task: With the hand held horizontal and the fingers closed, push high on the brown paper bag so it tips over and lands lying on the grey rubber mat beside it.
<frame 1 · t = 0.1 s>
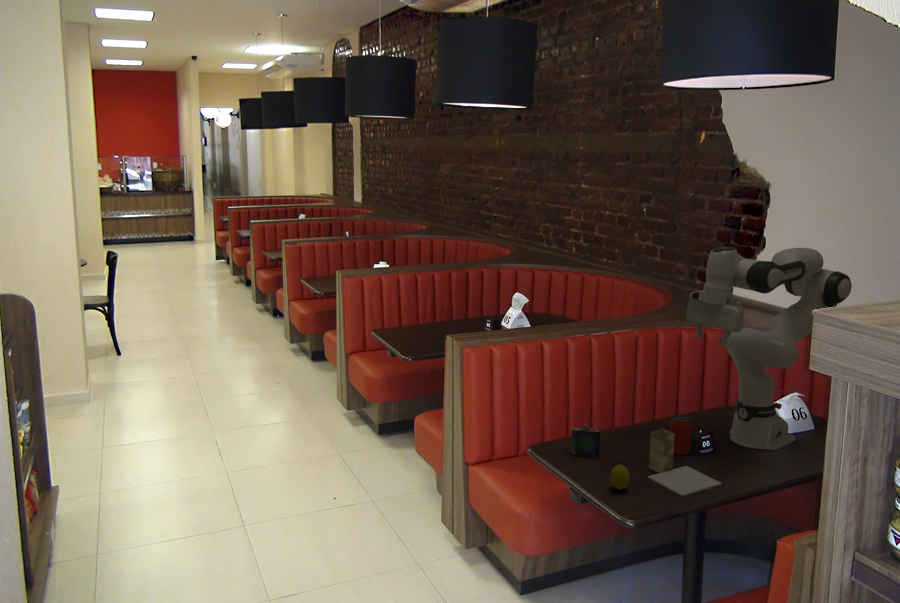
hand: (711, 340, 227), 39 cm above the table, tool pointing down, fingers open, 8 cm apart
beer can: (679, 452, 237), on the table
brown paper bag: (660, 469, 224), on the table
grey mat: (684, 481, 215), on the table
flask: (585, 455, 235), on the table
lemon: (619, 490, 210), on the table
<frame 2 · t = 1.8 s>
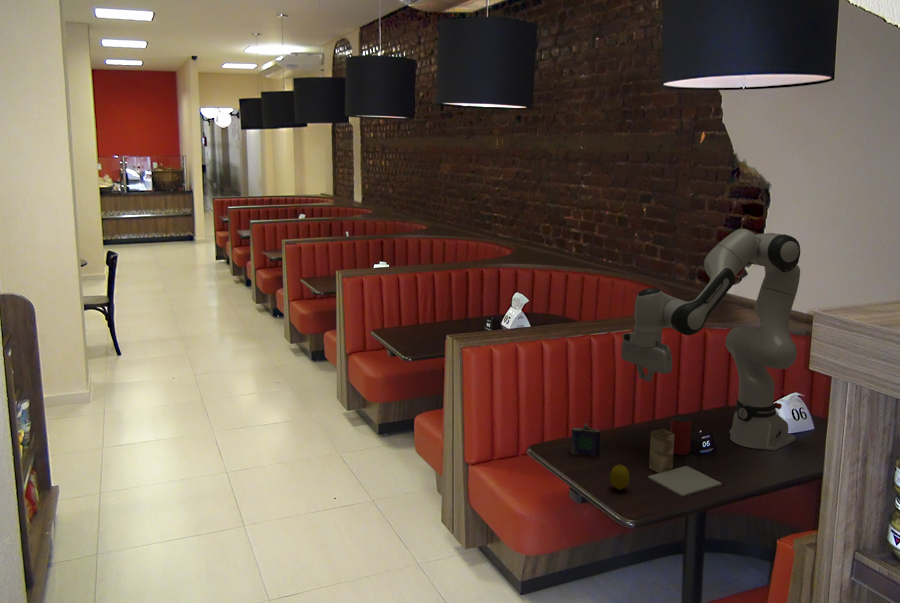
hand: (645, 379, 232), 25 cm above the table, tool pointing down, fingers closed
nothing on the table moved.
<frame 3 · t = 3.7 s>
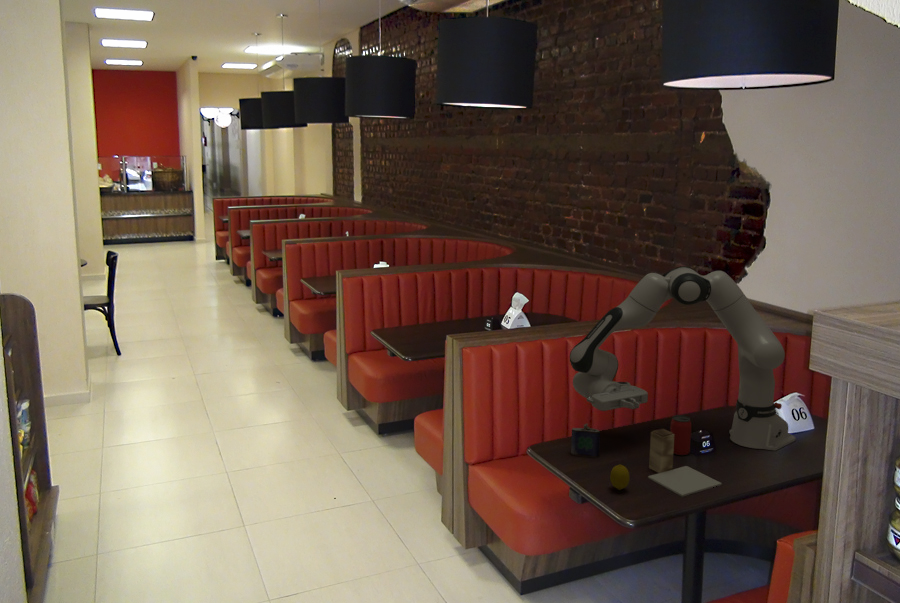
hand: (635, 406, 231), 17 cm above the table, tool horizontal, fingers closed
nothing on the table moved.
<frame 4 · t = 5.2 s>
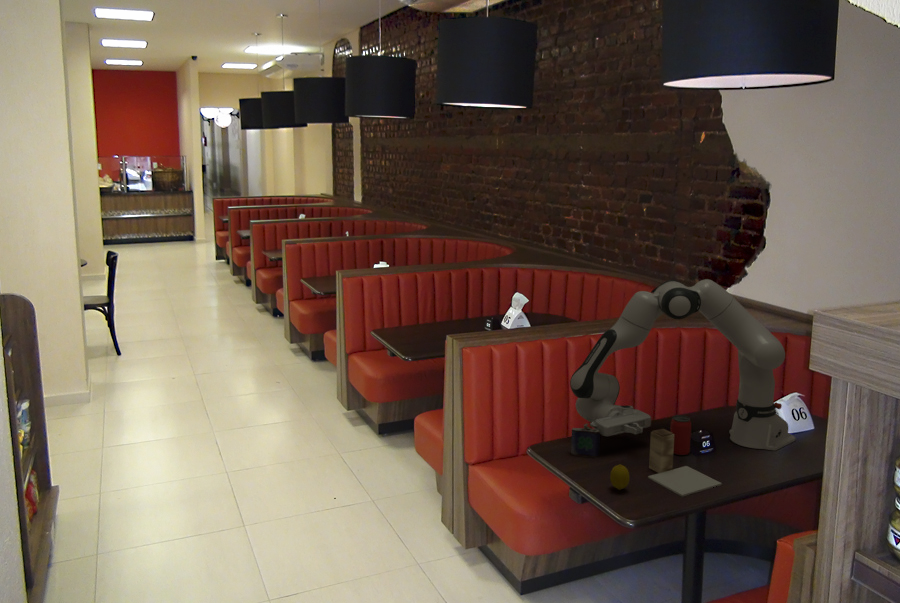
hand: (639, 431, 231), 9 cm above the table, tool horizontal, fingers closed
nothing on the table moved.
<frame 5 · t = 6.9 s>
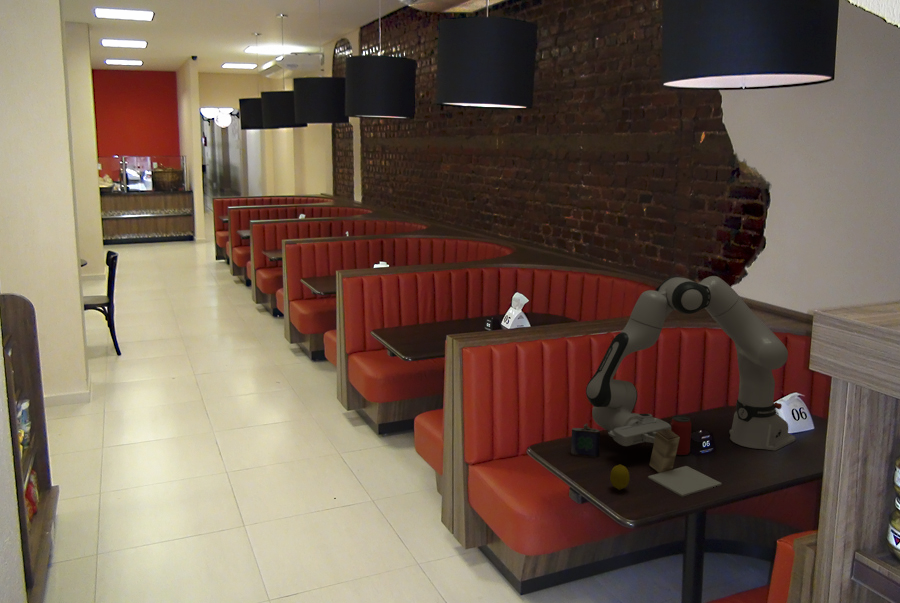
hand: (659, 441, 223), 9 cm above the table, tool horizontal, fingers closed
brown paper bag: (660, 467, 224), on the table, tilted 11°
everything else where it was.
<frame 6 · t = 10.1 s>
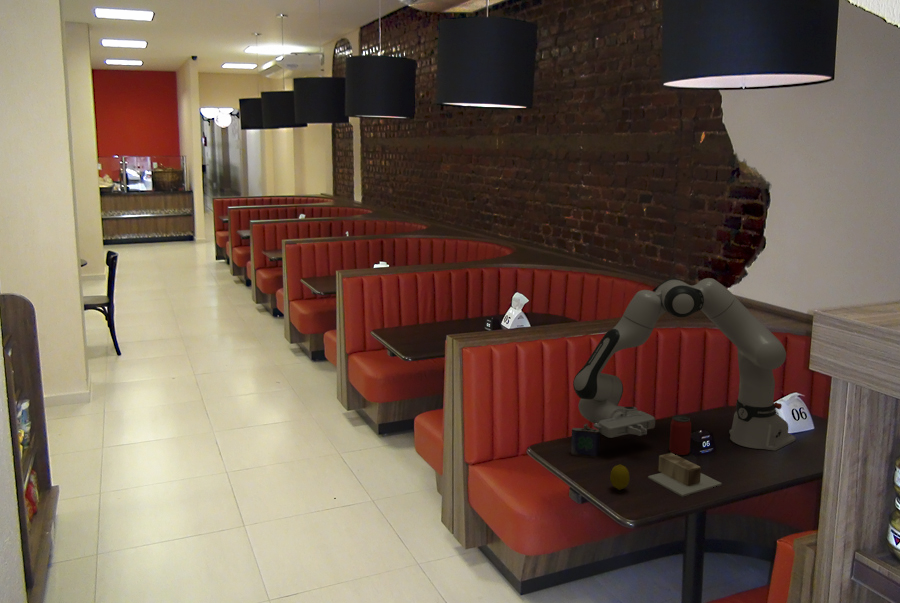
hand: (643, 432, 229), 9 cm above the table, tool horizontal, fingers closed
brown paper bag: (664, 461, 222), point 3 cm above the table, tilted 90°, touching grey mat
everything else where it was.
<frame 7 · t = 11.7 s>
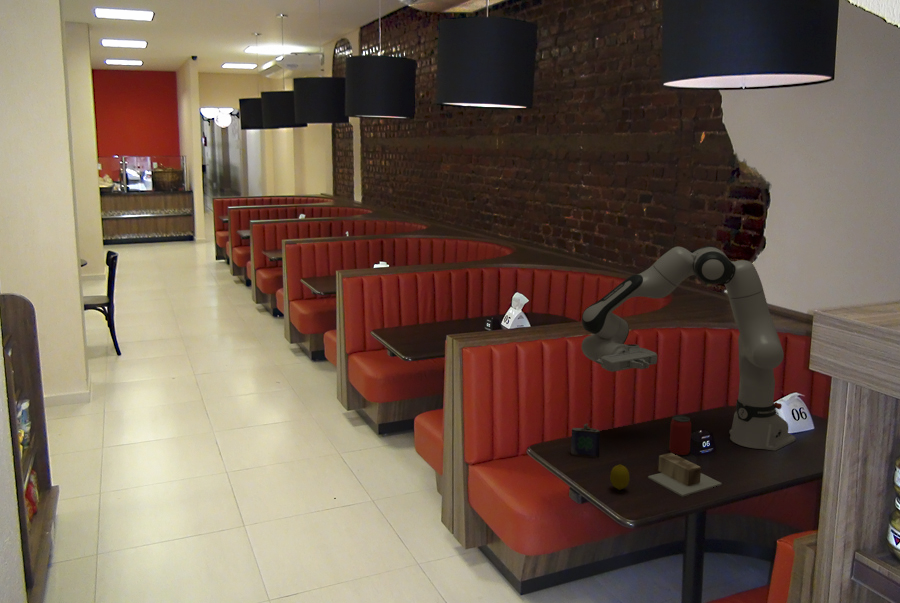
hand: (645, 366, 231), 30 cm above the table, tool horizontal, fingers closed
nothing on the table moved.
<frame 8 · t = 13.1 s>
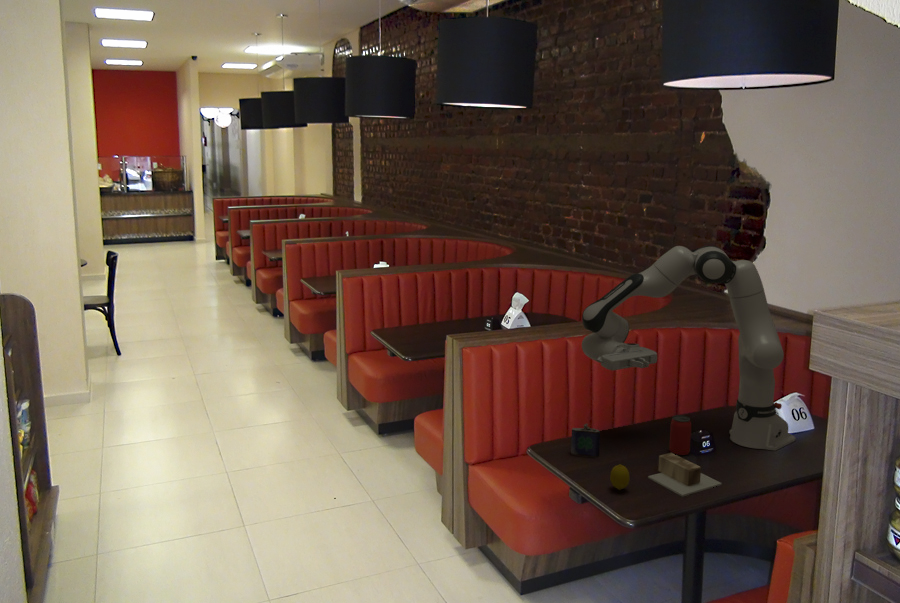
hand: (645, 365, 231), 30 cm above the table, tool horizontal, fingers closed
nothing on the table moved.
at the end: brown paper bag tilted 90°; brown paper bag inside the target area (4.5 cm from its centre), point 3.1 cm above the table; the gripper is holding nothing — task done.
